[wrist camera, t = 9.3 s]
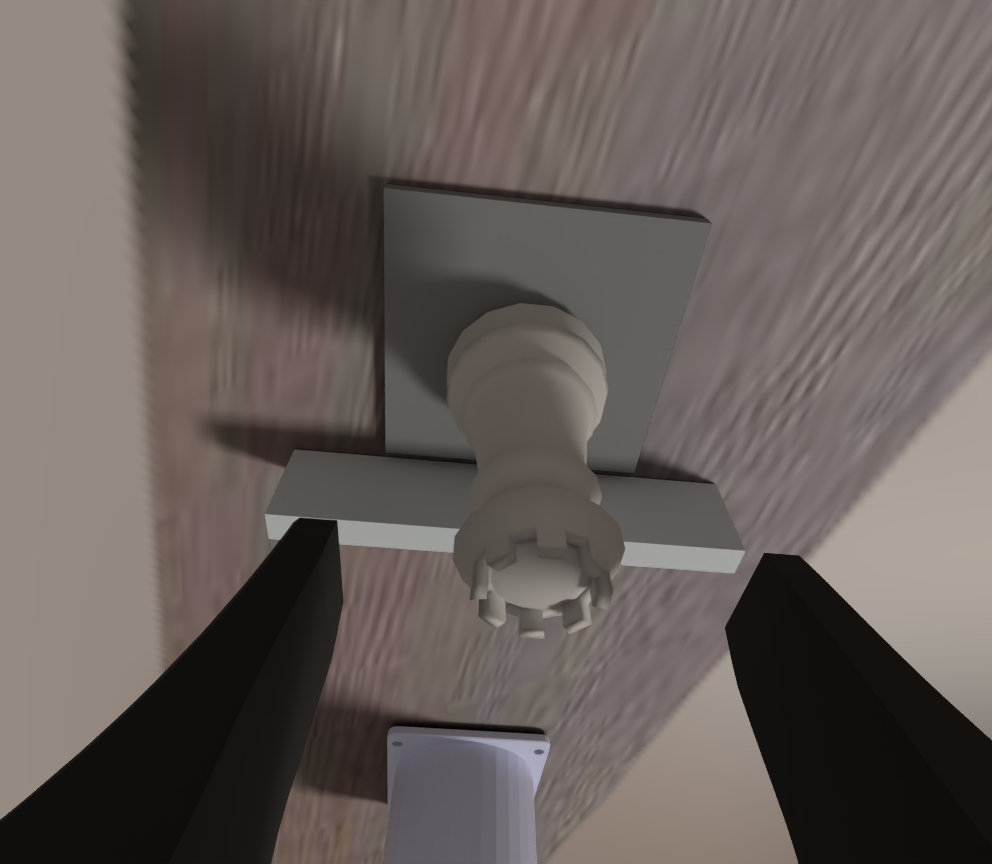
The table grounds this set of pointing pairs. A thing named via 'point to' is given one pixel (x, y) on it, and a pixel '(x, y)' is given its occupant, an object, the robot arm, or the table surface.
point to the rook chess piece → (532, 468)
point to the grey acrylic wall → (444, 508)
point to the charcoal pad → (529, 302)
